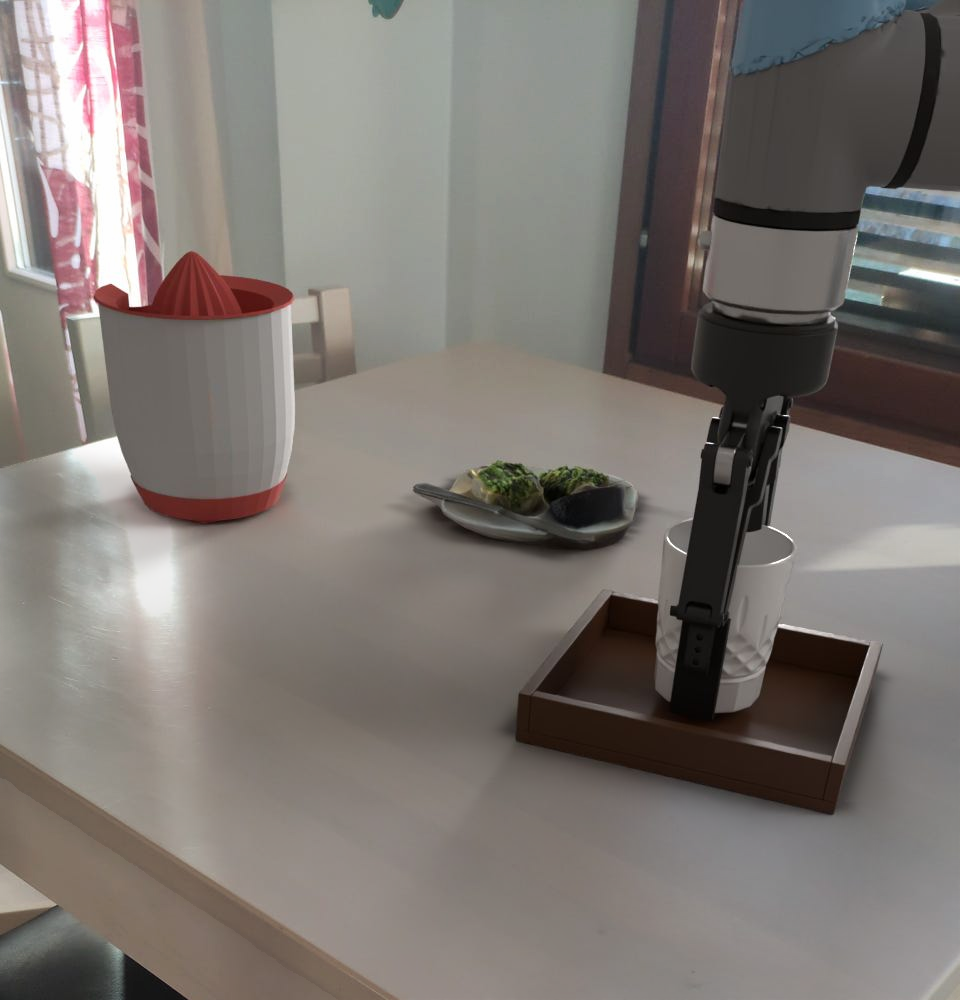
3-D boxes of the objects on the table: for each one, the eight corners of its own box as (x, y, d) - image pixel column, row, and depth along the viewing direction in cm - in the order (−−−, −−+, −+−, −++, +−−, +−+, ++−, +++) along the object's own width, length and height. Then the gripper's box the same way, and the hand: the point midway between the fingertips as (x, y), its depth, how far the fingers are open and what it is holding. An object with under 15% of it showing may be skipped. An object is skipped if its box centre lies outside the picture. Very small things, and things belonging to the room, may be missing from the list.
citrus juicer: (212, 456, 120) (194, 224, 108) (339, 503, 111) (334, 255, 99) (70, 493, 110) (34, 242, 98) (196, 549, 101) (172, 279, 89)
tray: (872, 687, 86) (883, 643, 84) (833, 815, 72) (845, 766, 71) (598, 631, 91) (603, 588, 90) (514, 740, 78) (518, 693, 76)
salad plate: (389, 539, 104) (389, 484, 102) (438, 472, 119) (439, 422, 116) (620, 566, 102) (627, 511, 99) (642, 494, 116) (648, 444, 113)
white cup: (663, 721, 77) (685, 567, 72) (631, 663, 84) (649, 517, 78) (785, 716, 78) (816, 564, 73) (744, 660, 85) (770, 516, 79)
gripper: (740, 268, 77) (687, 615, 90) (652, 336, 61) (604, 745, 74) (865, 283, 75) (792, 636, 88) (807, 357, 59) (730, 774, 72)
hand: (706, 685), depth 81 cm, fingers closed on white cup, 7 cm apart
